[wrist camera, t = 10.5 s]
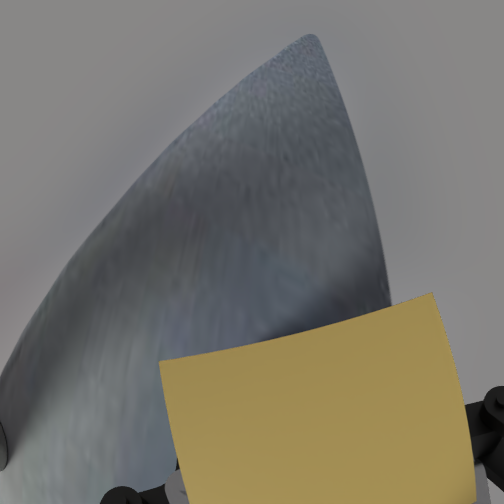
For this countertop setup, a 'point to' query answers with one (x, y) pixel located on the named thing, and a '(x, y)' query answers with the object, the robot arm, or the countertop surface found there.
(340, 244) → the countertop surface
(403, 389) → the mustard block
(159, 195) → the countertop surface
